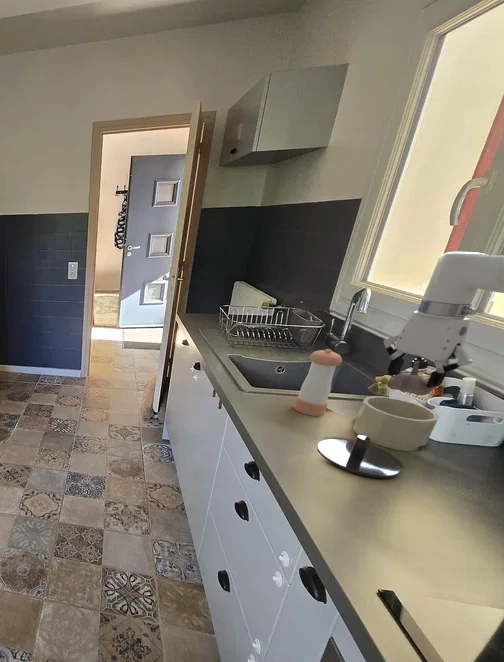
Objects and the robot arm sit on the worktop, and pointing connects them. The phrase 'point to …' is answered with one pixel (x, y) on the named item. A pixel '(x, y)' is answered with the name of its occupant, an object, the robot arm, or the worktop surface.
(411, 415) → the bowl
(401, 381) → the garlic bulb
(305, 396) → the pepper shaker
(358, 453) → the lid
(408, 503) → the worktop surface
